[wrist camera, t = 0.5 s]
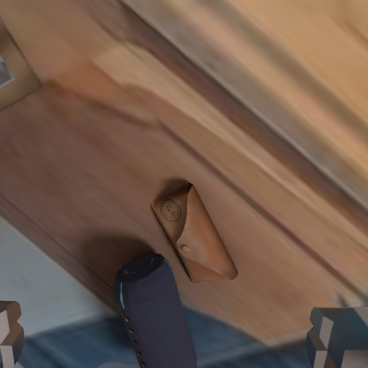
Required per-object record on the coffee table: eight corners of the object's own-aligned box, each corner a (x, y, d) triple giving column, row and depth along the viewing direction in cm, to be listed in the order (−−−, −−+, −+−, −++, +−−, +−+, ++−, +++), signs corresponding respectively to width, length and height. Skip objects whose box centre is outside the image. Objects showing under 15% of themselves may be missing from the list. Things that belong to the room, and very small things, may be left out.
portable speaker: (115, 250, 55) (98, 287, 46) (171, 240, 54) (165, 276, 45) (152, 358, 63) (143, 408, 54) (201, 351, 62) (201, 402, 53)
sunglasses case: (145, 203, 52) (159, 209, 46) (179, 180, 54) (197, 183, 48) (194, 286, 57) (213, 302, 51) (223, 262, 59) (245, 274, 53)
